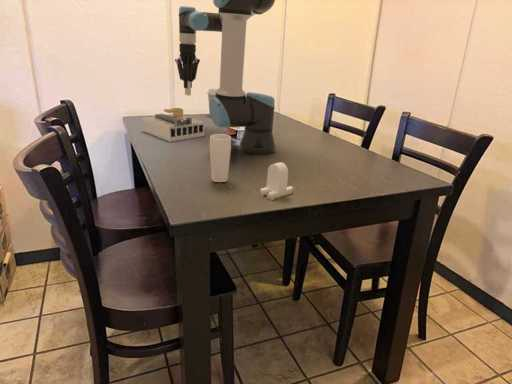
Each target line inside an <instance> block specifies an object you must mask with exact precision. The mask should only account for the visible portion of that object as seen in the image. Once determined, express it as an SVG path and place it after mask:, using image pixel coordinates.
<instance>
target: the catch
mask: <svg viewBox="0 0 512 384" xmlns="http://www.w3.org/2000/svg"><path fill="white" fill-rule="evenodd" d="M163 112H165V113H167V114H173V115H175V116H184V108H180V107H173V108H166V109H163Z"/></svg>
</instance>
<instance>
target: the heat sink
mask: <svg viewBox="0 0 512 384" xmlns="http://www.w3.org/2000/svg"><path fill="white" fill-rule="evenodd" d="M168 115H169V116H172V117H176V118H179V119H183V120H188V124H183V125H180V120H179V119H175V122H171V121H168V120H165V119H161V118H158V117H155V115H154V116H147V117H146V116H145V117H141V118H142V132H144V133H146V134H149V135H151V136H154V137H156V138H159V139H161V140H163V141H167V142H169V143H171V142H177V141H183V140H184V141H185V140H188V139H195V138H200V137H204V136H205V121H202V120H199V119H195V118H193V117H188V116H185V115H183V116H175V115H173V113H170V114H168Z"/></svg>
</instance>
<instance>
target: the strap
mask: <svg viewBox="0 0 512 384" xmlns="http://www.w3.org/2000/svg"><path fill="white" fill-rule="evenodd" d="M169 115H170V114H165V113H157V114H154V116H155V117H158V118H161V119H165V120H168V121H171V122H175V119H179V118H176V117H172V116H169ZM179 120H180V125H183V124H188V120H183V119H179Z"/></svg>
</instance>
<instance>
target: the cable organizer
mask: <svg viewBox="0 0 512 384" xmlns="http://www.w3.org/2000/svg"><path fill="white" fill-rule="evenodd" d="M288 179H289V169H288V166H287V164H286V163H284V162H281V161H280V162H276V163H272V164H270V165H269V166H268V168H267V177H266V186H265V187H261V188H260V192H261V193H266V192H269V193H268V195H267V197H268V196H270V197H273V196H276V195H279V194H283V193H285V192H288V191H291V190H293V191H294V187H293V186H291V185H289V186H288V181H289V180H288ZM260 192H259V193H260Z"/></svg>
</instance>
